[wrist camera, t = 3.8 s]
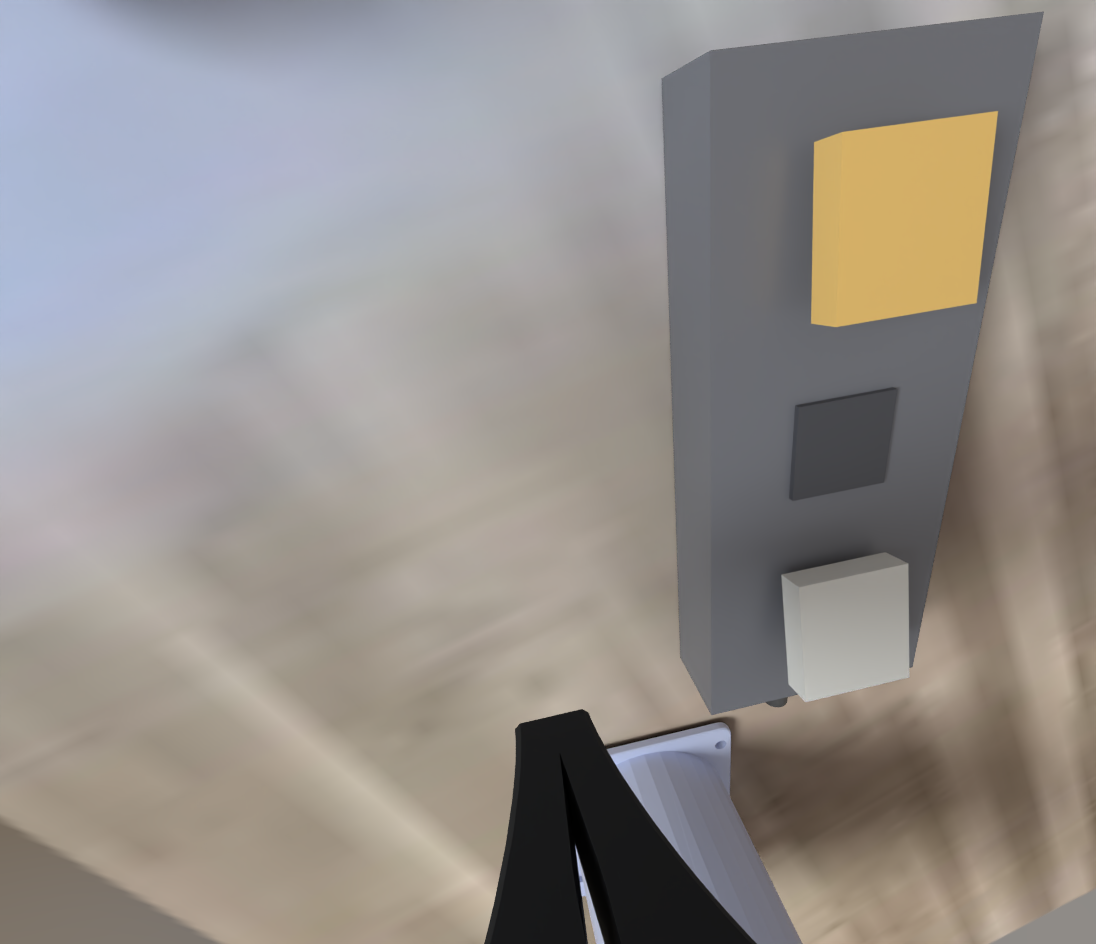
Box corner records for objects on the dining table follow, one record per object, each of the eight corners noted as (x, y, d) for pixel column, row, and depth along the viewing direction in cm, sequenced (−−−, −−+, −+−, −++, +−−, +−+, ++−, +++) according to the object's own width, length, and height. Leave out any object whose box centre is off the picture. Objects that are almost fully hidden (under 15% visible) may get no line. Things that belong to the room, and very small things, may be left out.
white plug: (887, 660, 20) (909, 677, 19) (788, 684, 19) (805, 702, 18) (885, 551, 19) (908, 563, 18) (781, 574, 18) (798, 587, 17)
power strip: (852, 669, 26) (904, 727, 23) (682, 709, 25) (713, 774, 22) (941, 44, 16) (1052, 8, 13) (661, 78, 15) (714, 48, 12)
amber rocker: (943, 301, 15) (976, 302, 14) (811, 323, 14) (836, 327, 13) (959, 122, 13) (997, 110, 12) (813, 141, 13) (842, 132, 12)
